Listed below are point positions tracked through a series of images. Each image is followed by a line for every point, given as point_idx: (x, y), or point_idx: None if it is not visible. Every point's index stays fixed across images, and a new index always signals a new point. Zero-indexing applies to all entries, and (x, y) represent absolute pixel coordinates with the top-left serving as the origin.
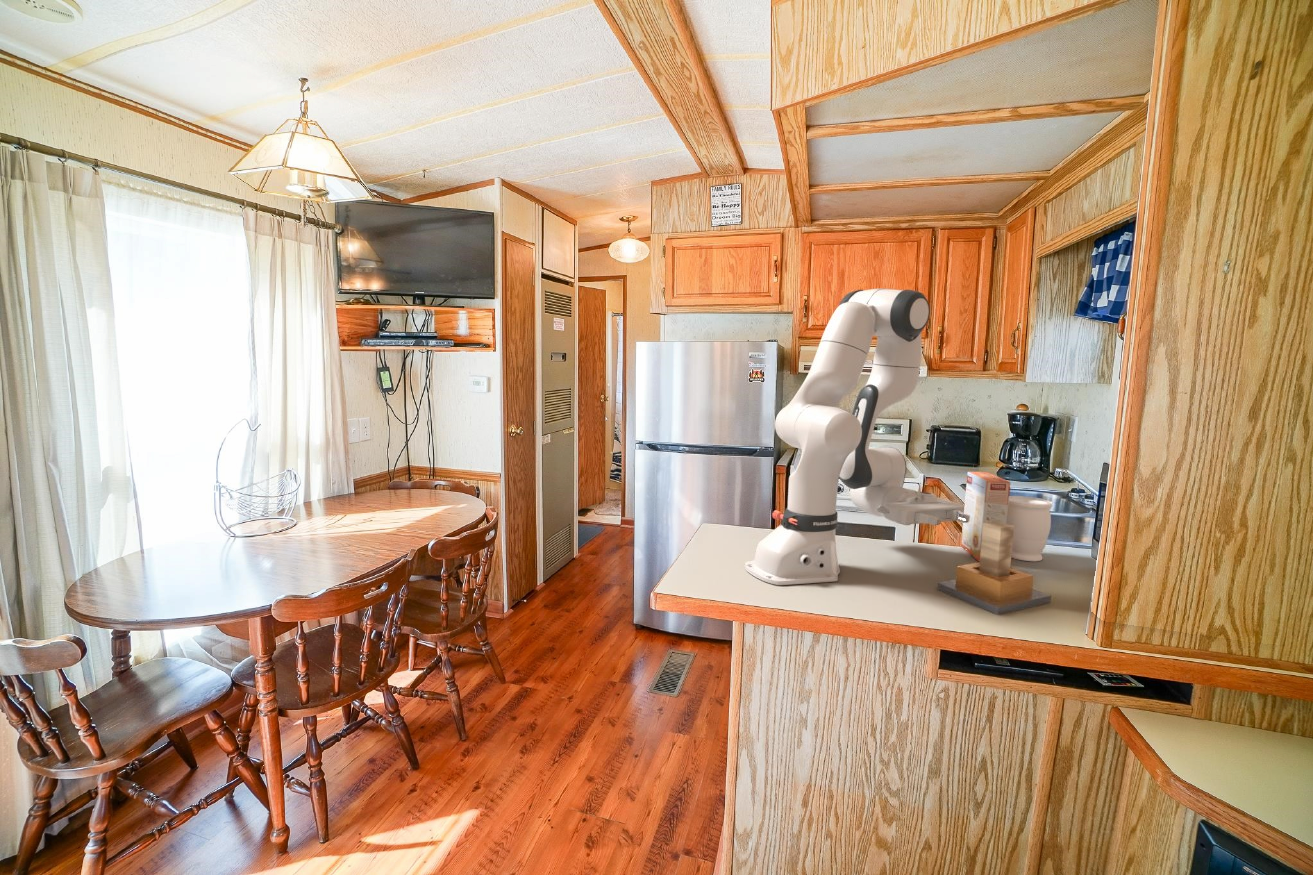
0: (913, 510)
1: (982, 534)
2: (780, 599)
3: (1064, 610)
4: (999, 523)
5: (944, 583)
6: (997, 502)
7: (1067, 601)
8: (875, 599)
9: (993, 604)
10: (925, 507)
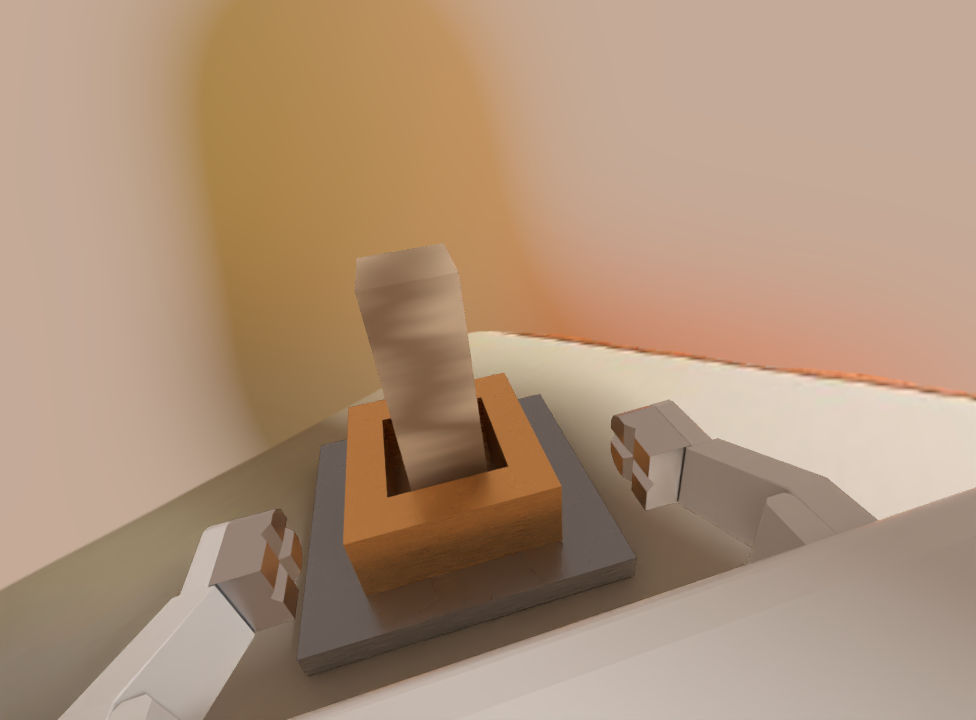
0: (938, 502)
1: (465, 326)
2: None
3: (346, 426)
4: (377, 274)
5: (609, 547)
6: None
7: (268, 467)
8: (924, 500)
9: (540, 406)
10: (709, 635)
